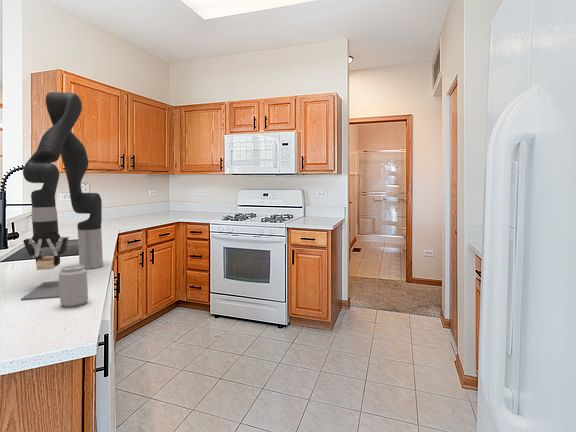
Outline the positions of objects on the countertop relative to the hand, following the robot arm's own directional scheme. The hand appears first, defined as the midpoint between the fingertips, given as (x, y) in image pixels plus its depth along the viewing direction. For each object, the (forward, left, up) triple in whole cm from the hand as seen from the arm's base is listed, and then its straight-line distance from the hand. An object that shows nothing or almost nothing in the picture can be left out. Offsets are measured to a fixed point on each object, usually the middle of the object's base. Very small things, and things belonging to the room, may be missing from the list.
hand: (48, 265), depth 128 cm
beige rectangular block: (0, 0, 0) cm, 0 cm away
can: (+22, +14, -8) cm, 28 cm away
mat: (+4, +3, -8) cm, 10 cm away
